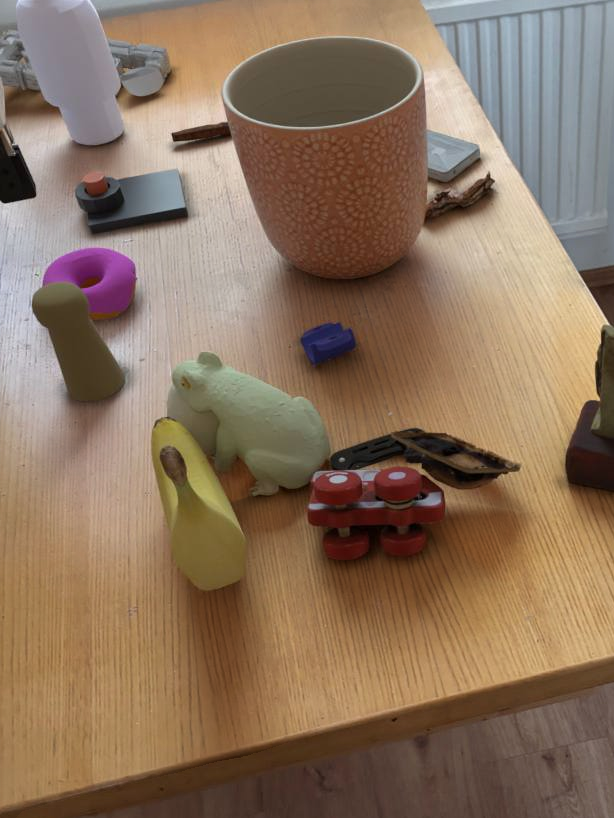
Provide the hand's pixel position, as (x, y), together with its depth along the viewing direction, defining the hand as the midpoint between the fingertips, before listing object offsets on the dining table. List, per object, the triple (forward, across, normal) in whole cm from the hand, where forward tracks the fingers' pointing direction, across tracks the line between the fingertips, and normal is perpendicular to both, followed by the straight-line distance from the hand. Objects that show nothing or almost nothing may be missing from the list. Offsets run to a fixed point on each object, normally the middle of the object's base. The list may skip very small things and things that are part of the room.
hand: (19, 196), depth 84 cm
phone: (+17, -30, +44) cm, 56 cm away
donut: (+19, -12, +1) cm, 23 cm away
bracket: (+16, +7, +24) cm, 30 cm away
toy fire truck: (+14, +37, +22) cm, 45 cm away
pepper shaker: (+19, +3, 0) cm, 19 cm away
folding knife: (+18, +22, +25) cm, 38 cm away
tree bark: (+20, -18, +45) cm, 52 cm away
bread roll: (+18, +30, +36) cm, 50 cm away
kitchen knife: (+19, -47, +24) cm, 56 cm away
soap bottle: (+19, -52, +4) cm, 56 cm away
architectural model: (+14, -68, +4) cm, 70 cm away
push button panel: (+19, -32, +8) cm, 38 cm away
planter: (+19, -11, +31) cm, 38 cm away
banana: (+19, +31, +8) cm, 37 cm away
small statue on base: (+19, +33, +47) cm, 60 cm away
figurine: (+19, +19, +14) cm, 30 cm away
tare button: (+16, -32, +4) cm, 36 cm away
